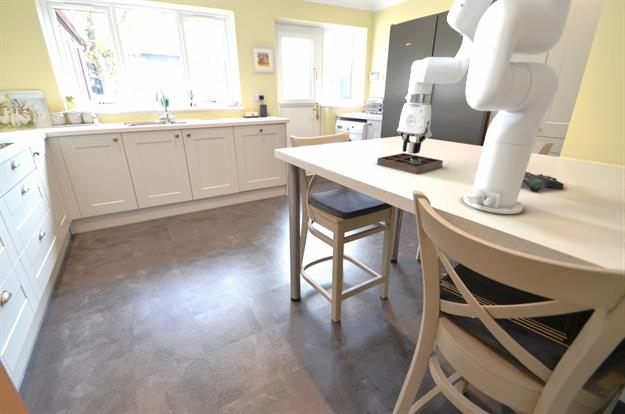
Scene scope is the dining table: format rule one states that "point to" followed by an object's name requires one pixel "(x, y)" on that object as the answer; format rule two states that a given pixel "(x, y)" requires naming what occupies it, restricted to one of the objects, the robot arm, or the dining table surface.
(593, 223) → the dining table surface
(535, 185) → the decorative rock
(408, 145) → the white stone
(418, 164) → the black stone
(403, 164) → the board
